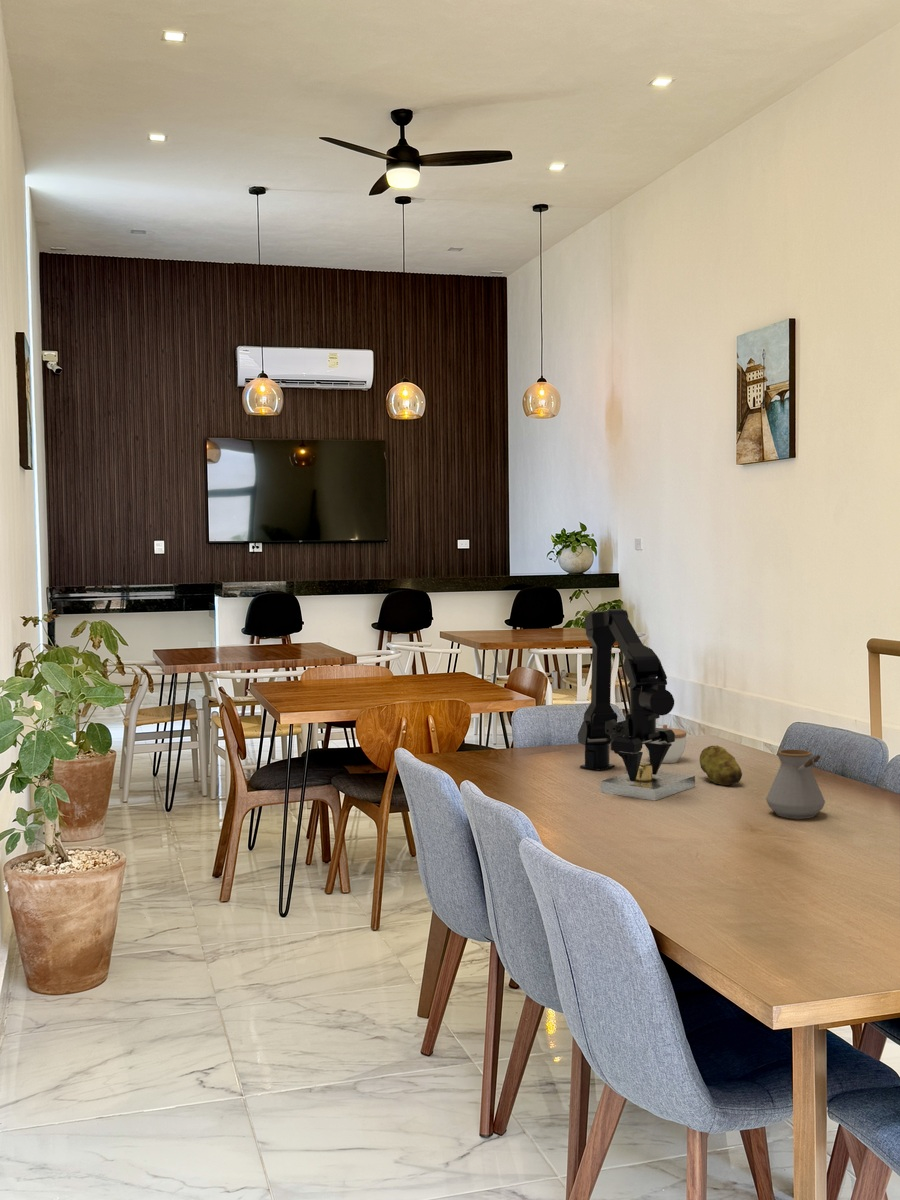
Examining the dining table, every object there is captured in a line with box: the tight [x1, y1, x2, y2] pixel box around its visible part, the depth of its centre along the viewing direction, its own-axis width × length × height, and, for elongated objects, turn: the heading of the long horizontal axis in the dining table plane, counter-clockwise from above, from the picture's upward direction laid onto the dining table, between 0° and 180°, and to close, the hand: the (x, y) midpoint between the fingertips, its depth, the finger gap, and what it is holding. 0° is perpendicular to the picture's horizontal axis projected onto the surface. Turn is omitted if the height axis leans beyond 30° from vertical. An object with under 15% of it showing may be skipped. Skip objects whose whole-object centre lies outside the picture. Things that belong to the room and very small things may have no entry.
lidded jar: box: [644, 724, 687, 764], centre depth 281 cm, size 11×11×9 cm
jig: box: [599, 770, 696, 801], centre depth 247 cm, size 18×14×2 cm
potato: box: [699, 745, 743, 786], centre depth 254 cm, size 8×13×8 cm, turn 178°
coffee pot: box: [765, 749, 826, 820], centre depth 217 cm, size 21×12×15 cm, turn 179°
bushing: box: [635, 762, 652, 783], centre depth 246 cm, size 4×4×6 cm
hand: (643, 777), depth 246 cm, fingers open, 9 cm apart
